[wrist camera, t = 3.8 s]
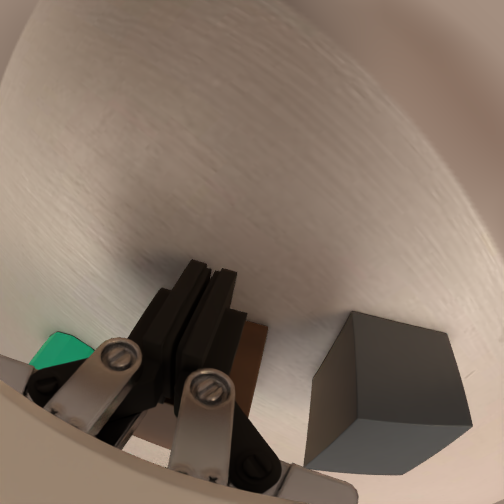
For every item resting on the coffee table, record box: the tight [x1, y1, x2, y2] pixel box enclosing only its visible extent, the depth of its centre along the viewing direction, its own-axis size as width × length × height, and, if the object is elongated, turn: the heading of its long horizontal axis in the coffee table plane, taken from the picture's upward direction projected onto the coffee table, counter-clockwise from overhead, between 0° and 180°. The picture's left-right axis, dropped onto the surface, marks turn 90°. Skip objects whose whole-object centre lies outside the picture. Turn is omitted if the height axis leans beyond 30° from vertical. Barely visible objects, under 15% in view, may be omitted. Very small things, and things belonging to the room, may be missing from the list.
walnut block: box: [132, 321, 268, 450], centre depth 13 cm, size 5×5×5 cm
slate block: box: [303, 311, 473, 475], centre depth 11 cm, size 5×5×5 cm
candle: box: [29, 332, 94, 370], centre depth 14 cm, size 6×6×12 cm
